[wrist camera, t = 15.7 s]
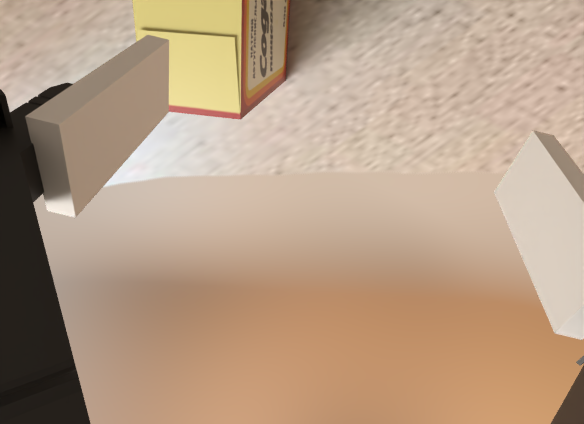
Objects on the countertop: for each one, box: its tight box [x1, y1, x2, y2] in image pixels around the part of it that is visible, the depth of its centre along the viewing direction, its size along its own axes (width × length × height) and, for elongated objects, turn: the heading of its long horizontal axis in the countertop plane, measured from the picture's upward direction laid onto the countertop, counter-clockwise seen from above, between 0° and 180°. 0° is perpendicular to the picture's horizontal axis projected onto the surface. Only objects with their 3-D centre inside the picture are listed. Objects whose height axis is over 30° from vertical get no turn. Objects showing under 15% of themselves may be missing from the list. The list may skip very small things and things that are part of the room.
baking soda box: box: [132, 0, 290, 119], centre depth 31 cm, size 10×6×16 cm
